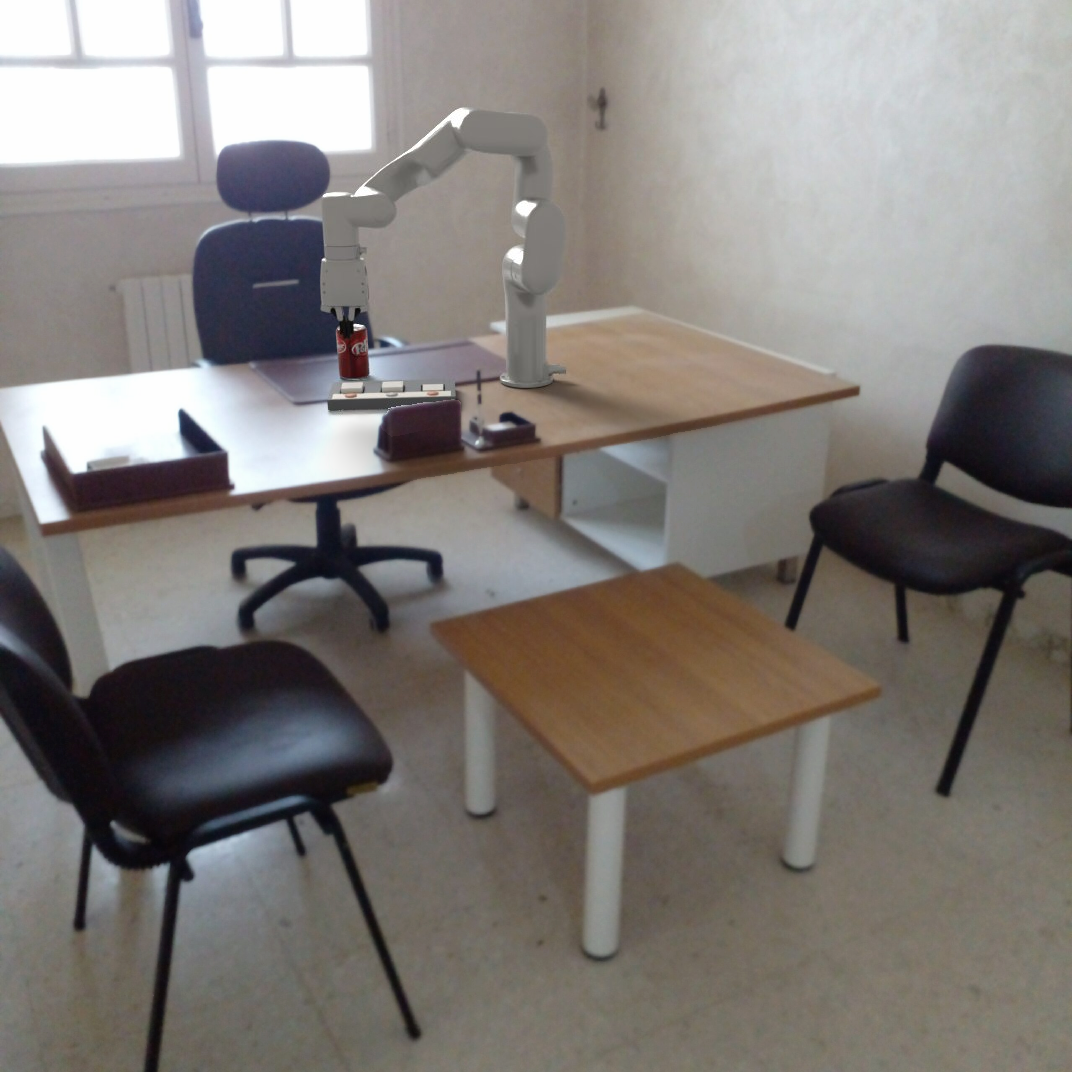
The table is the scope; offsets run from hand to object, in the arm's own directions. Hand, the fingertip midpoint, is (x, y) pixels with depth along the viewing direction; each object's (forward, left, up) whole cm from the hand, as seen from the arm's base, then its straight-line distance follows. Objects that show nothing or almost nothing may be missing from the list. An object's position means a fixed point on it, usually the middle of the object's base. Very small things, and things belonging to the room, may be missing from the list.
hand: (347, 337), depth 248 cm
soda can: (+1, -20, -15) cm, 25 cm away
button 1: (0, 0, -12) cm, 12 cm away
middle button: (-9, 0, -12) cm, 15 cm away
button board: (-9, 0, -15) cm, 17 cm away
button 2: (-18, 0, -13) cm, 23 cm away
